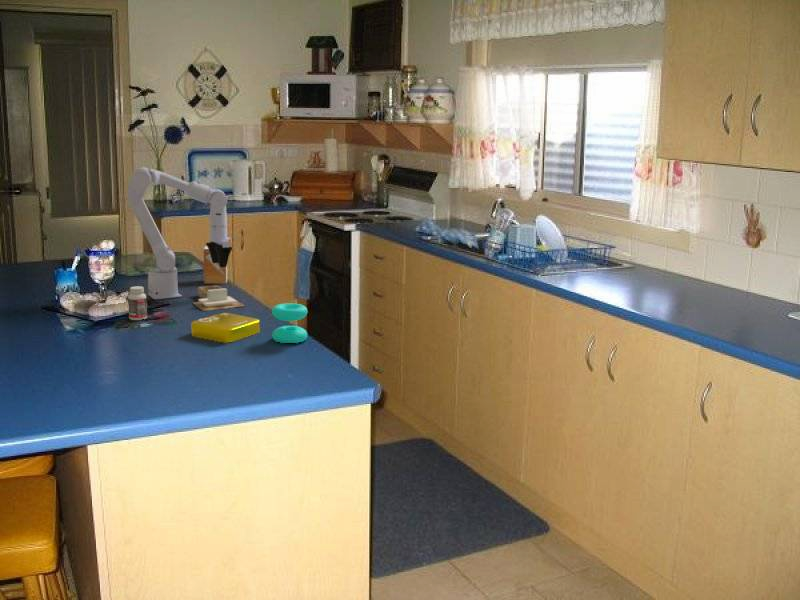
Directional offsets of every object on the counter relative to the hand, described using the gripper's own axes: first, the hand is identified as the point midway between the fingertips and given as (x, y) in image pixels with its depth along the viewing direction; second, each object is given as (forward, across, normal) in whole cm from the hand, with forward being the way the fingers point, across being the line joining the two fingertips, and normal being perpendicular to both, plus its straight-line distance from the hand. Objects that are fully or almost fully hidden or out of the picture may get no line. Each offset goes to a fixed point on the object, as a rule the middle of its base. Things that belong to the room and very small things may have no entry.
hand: (219, 264), depth 290 cm
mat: (+10, -14, +6) cm, 19 cm away
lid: (+9, -14, +6) cm, 18 cm away
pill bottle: (+11, -20, +33) cm, 40 cm away
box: (+10, -4, +4) cm, 12 cm away
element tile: (+11, -47, +15) cm, 51 cm away
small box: (+11, +19, -5) cm, 22 cm away
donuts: (+11, -61, +1) cm, 62 cm away
